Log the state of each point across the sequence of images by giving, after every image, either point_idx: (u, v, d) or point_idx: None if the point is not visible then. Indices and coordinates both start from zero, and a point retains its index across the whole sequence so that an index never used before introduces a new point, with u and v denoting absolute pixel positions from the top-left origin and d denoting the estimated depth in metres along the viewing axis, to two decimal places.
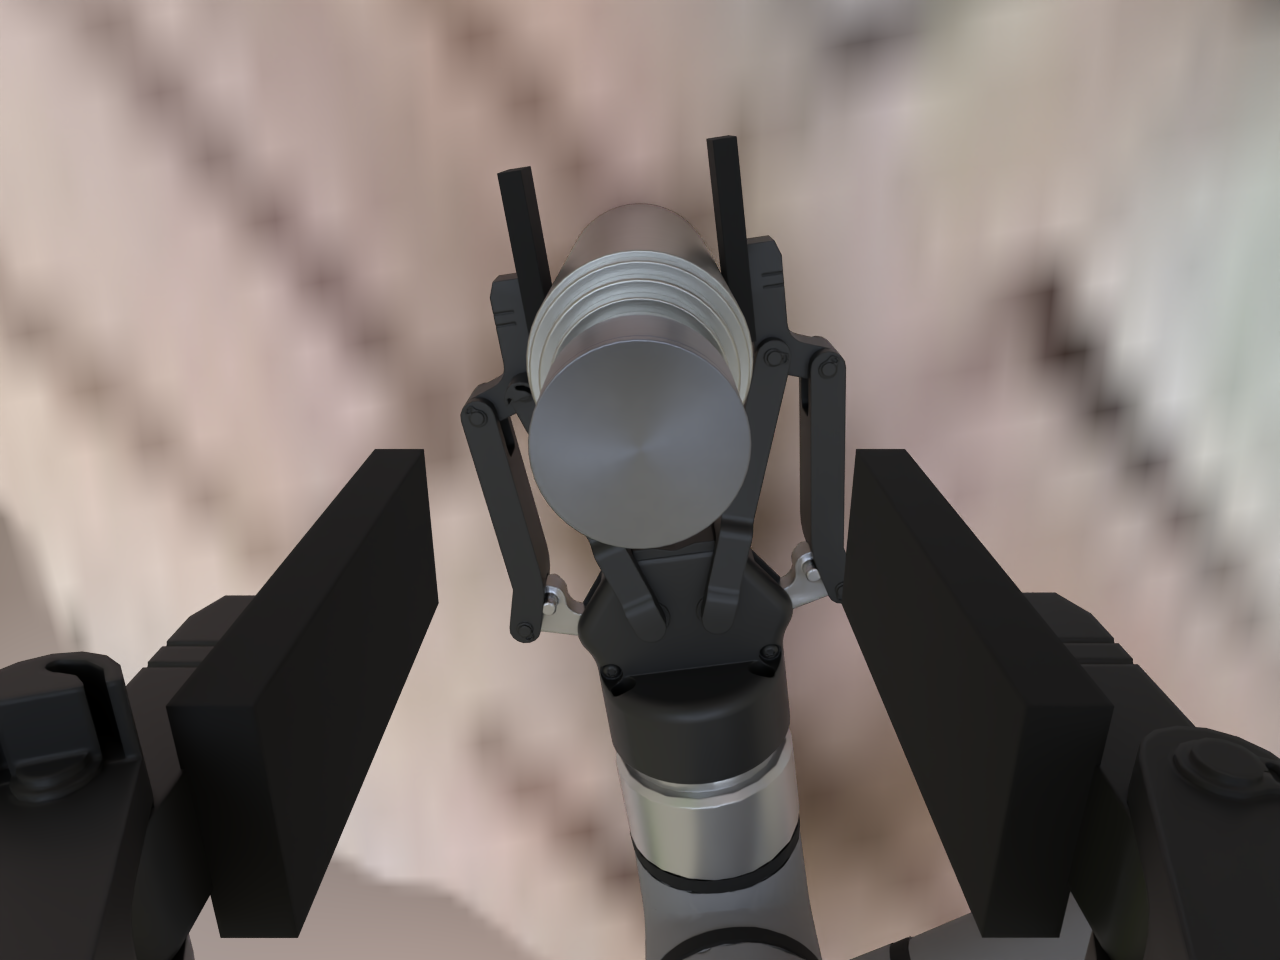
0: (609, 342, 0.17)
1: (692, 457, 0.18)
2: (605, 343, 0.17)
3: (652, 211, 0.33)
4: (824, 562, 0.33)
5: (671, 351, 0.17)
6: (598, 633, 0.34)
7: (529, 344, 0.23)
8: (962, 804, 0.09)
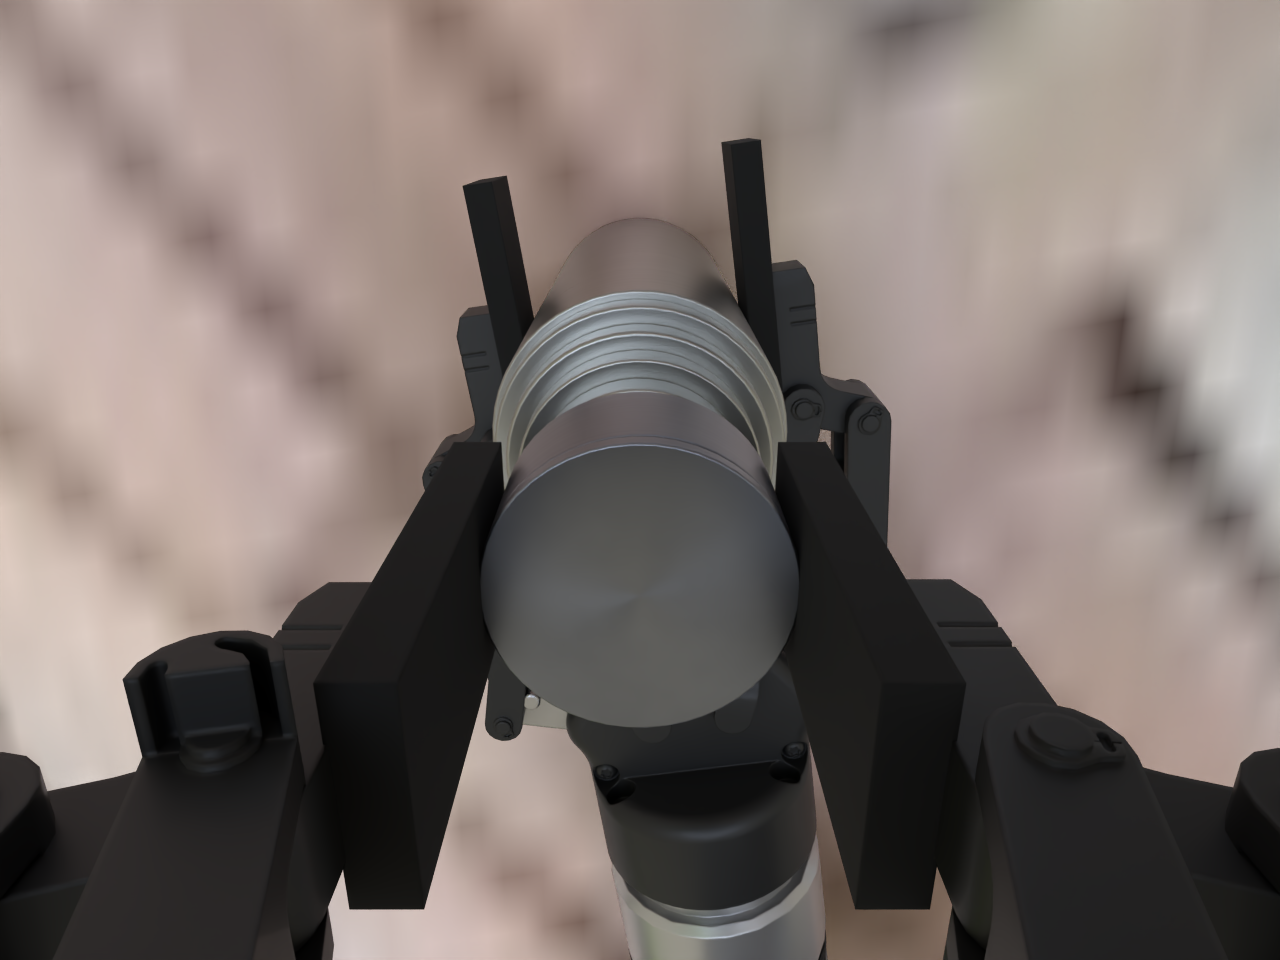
0: (595, 446, 0.11)
1: (716, 606, 0.12)
2: (589, 448, 0.11)
3: (655, 229, 0.27)
4: None
5: (686, 460, 0.11)
6: (590, 729, 0.29)
7: (496, 411, 0.18)
8: (843, 781, 0.09)
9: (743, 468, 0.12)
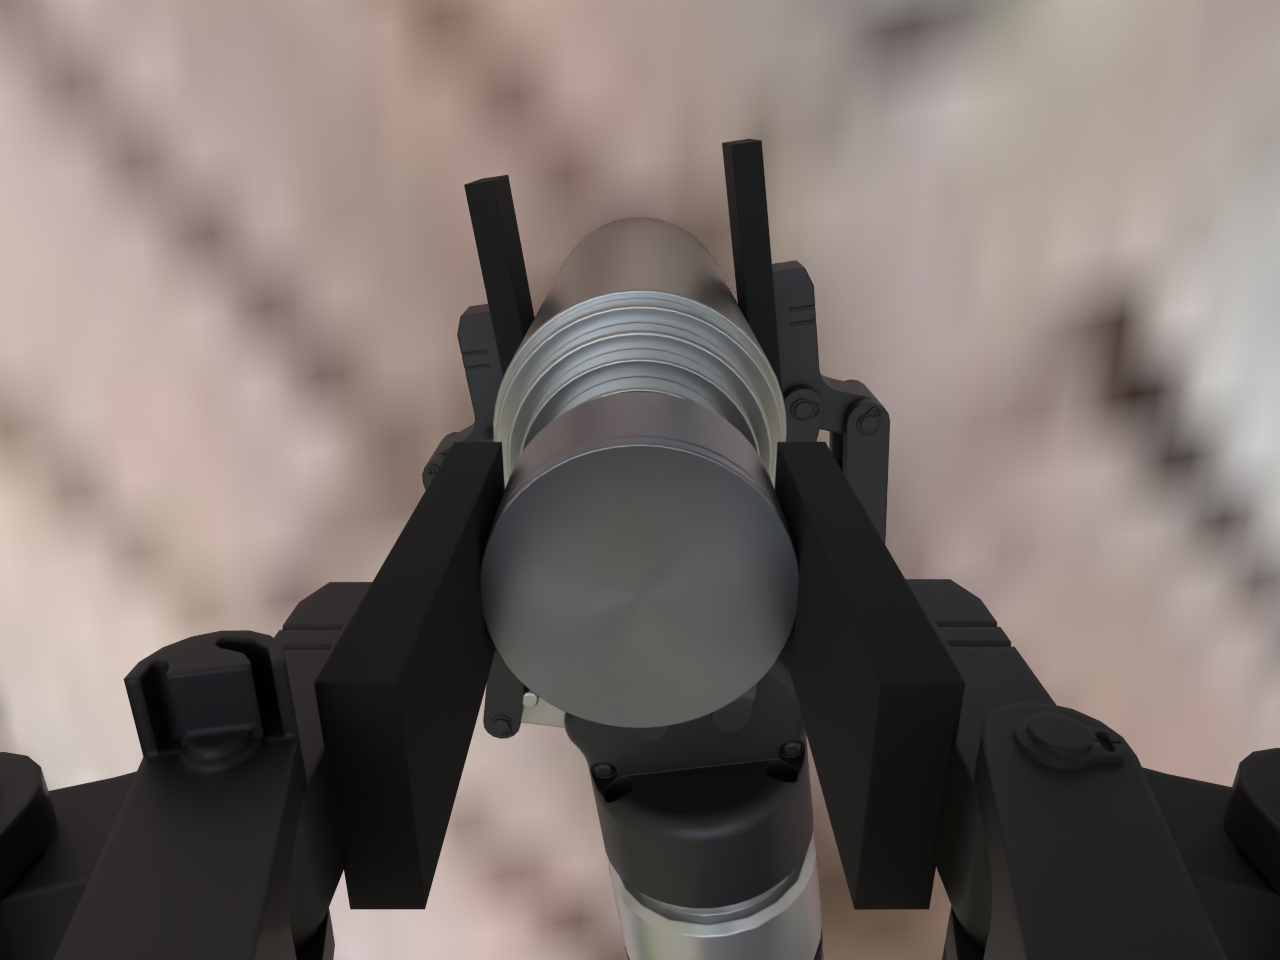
0: (515, 671, 0.13)
1: (623, 526, 0.12)
2: (518, 676, 0.13)
3: (655, 229, 0.28)
4: None
5: (489, 604, 0.12)
6: (588, 727, 0.29)
7: (497, 409, 0.18)
8: (842, 781, 0.09)
9: None
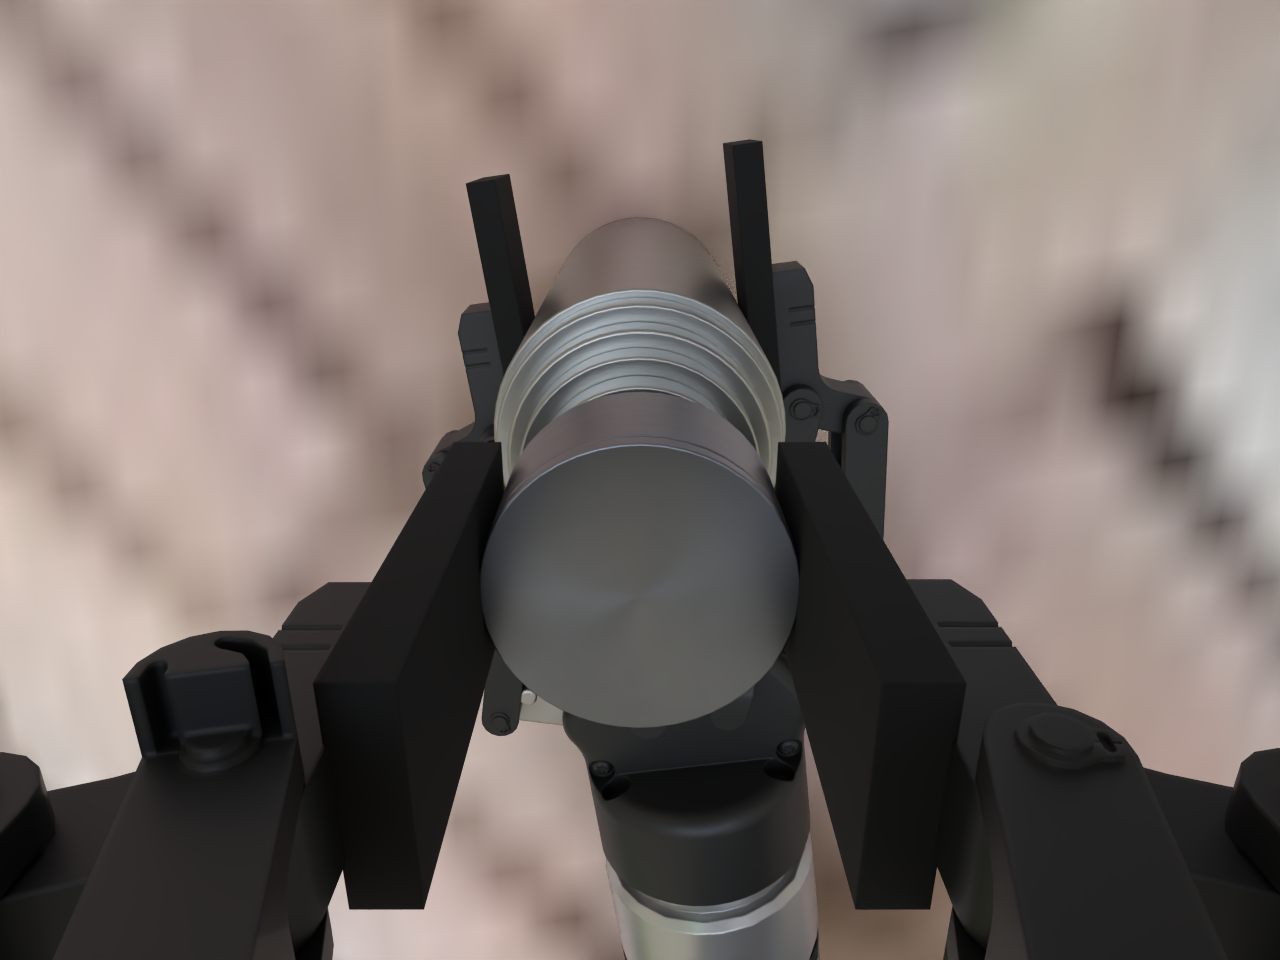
0: (768, 667, 0.13)
1: (574, 631, 0.12)
2: (771, 663, 0.13)
3: (656, 228, 0.28)
4: None
5: (698, 710, 0.13)
6: (586, 725, 0.29)
7: (497, 407, 0.18)
8: (843, 781, 0.09)
9: None
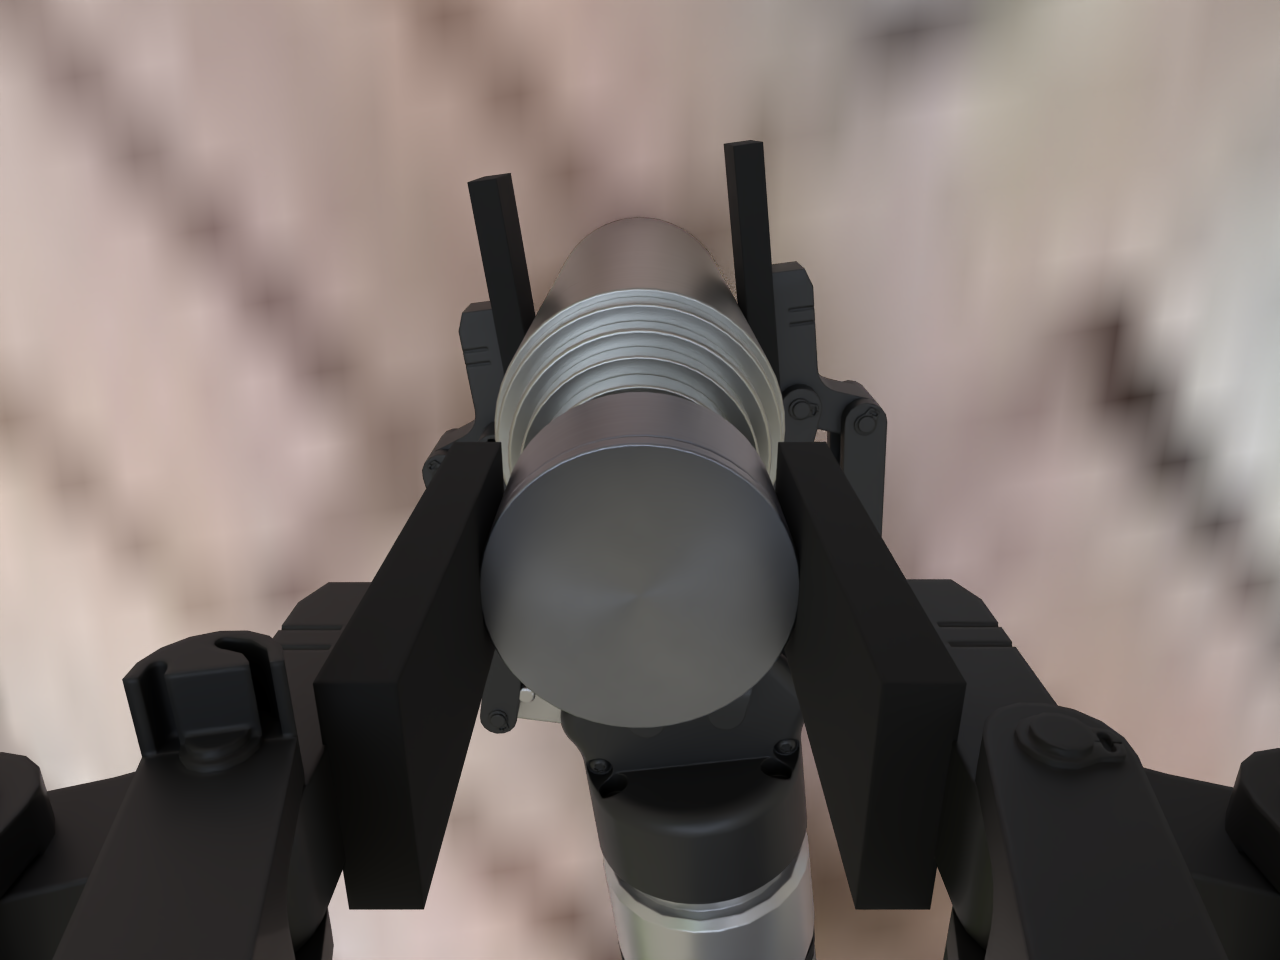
0: (677, 445, 0.11)
1: (700, 636, 0.12)
2: (671, 444, 0.11)
3: (656, 228, 0.28)
4: None
5: (750, 497, 0.12)
6: (584, 723, 0.29)
7: (498, 405, 0.18)
8: (843, 781, 0.09)
9: (787, 525, 0.12)
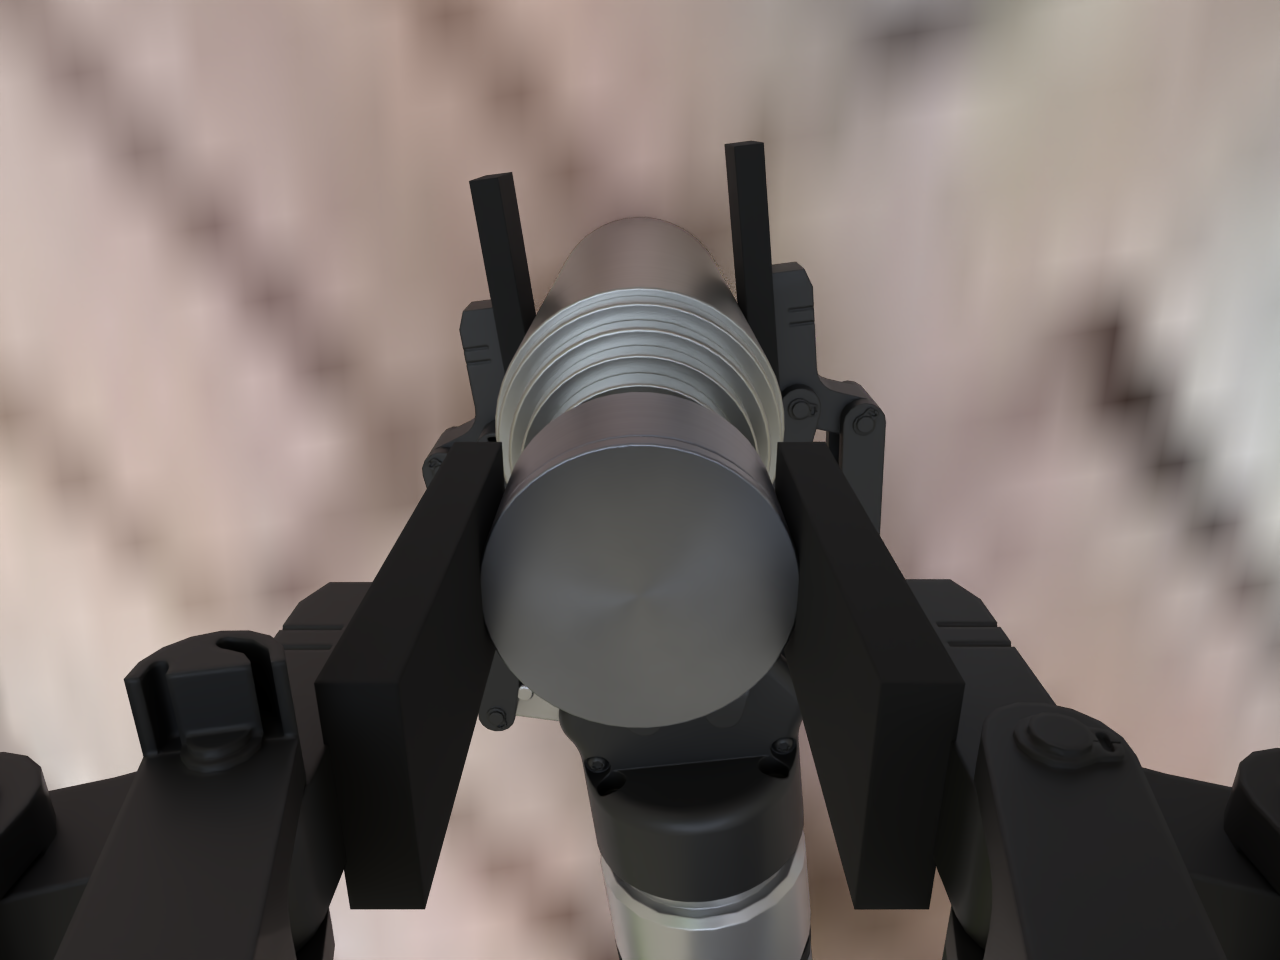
0: (483, 612, 0.12)
1: (662, 528, 0.12)
2: (484, 617, 0.12)
3: (657, 228, 0.28)
4: None
5: (498, 540, 0.12)
6: (583, 721, 0.29)
7: (499, 403, 0.18)
8: (842, 781, 0.09)
9: (525, 477, 0.12)
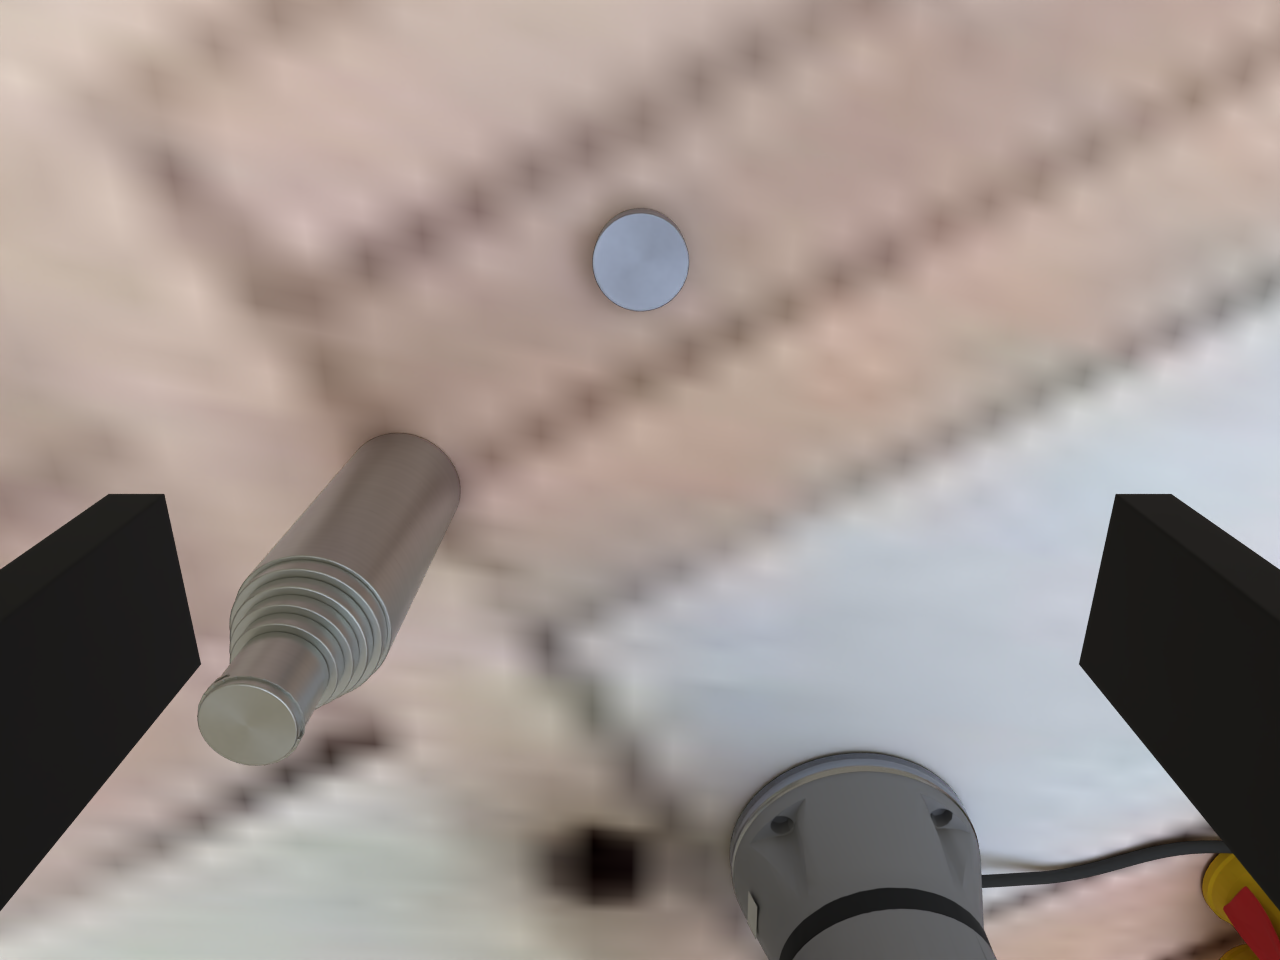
0: (593, 269, 0.41)
1: (647, 240, 0.40)
2: (593, 271, 0.41)
3: (447, 527, 0.45)
4: None
5: (599, 244, 0.40)
6: None
7: (331, 561, 0.33)
8: None
9: (607, 226, 0.41)
